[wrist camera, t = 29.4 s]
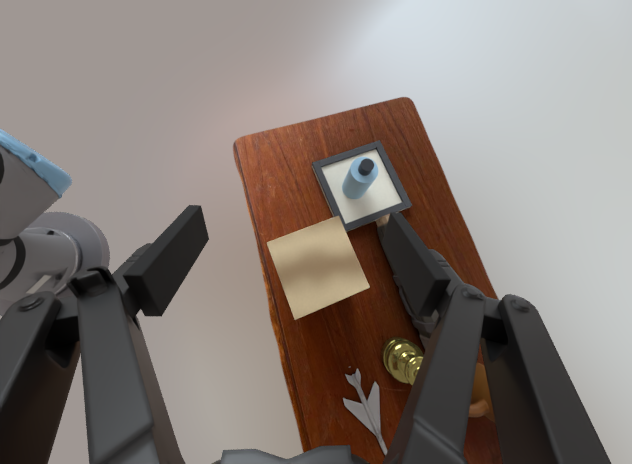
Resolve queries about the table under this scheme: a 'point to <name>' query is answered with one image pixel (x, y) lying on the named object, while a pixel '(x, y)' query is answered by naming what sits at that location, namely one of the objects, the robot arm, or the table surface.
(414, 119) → the table surface
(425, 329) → the tube
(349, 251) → the stand
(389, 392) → the table surface
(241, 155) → the table surface
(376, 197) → the whiteboard
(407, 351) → the brass weight
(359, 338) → the table surface
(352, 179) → the cleaner bottle
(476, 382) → the mug
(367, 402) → the toy airplane
